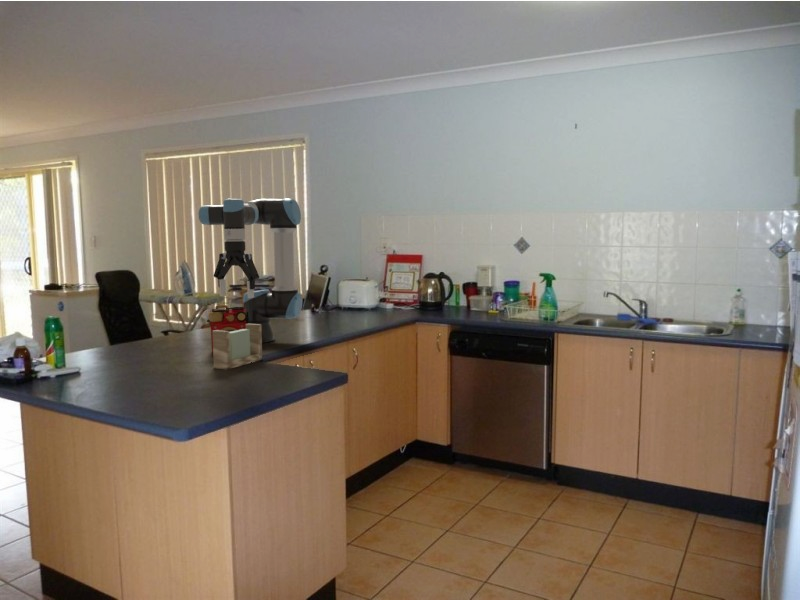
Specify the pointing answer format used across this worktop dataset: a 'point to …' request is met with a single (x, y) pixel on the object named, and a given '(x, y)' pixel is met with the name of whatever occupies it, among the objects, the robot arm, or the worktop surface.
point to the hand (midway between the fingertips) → (236, 297)
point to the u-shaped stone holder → (223, 348)
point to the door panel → (239, 343)
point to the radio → (228, 319)
